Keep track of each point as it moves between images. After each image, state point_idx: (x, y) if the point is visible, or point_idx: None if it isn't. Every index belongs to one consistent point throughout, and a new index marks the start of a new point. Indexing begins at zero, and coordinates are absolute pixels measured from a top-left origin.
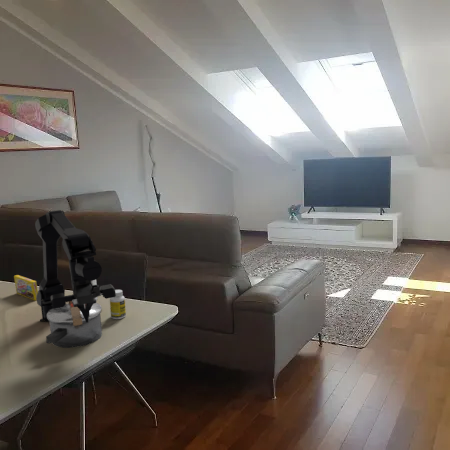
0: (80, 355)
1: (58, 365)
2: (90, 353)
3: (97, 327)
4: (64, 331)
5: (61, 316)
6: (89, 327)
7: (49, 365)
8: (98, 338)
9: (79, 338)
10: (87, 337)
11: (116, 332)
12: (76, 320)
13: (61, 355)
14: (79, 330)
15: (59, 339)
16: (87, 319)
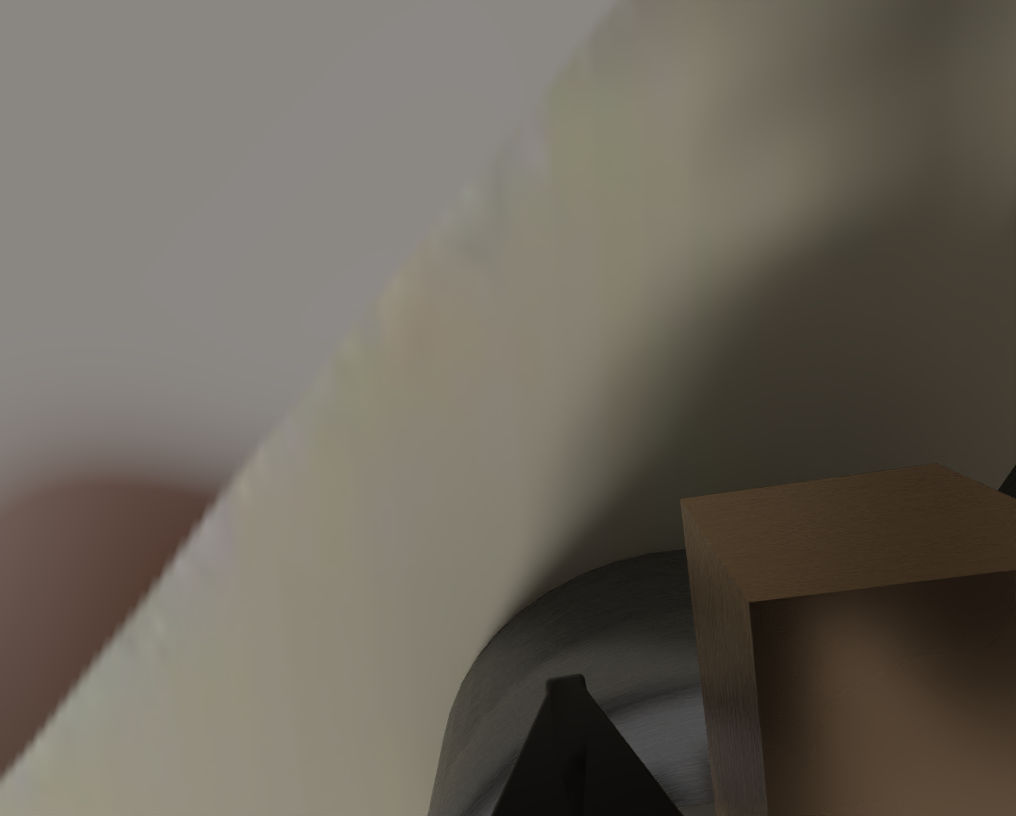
0: (644, 320)
1: (897, 110)
2: (533, 340)
3: (448, 787)
4: None
5: None
6: None
7: (1005, 143)
8: (468, 677)
9: (677, 604)
10: (577, 626)
11: (298, 772)
12: (932, 542)
13: (859, 384)
14: (698, 681)
15: (1010, 486)
16: (550, 723)
